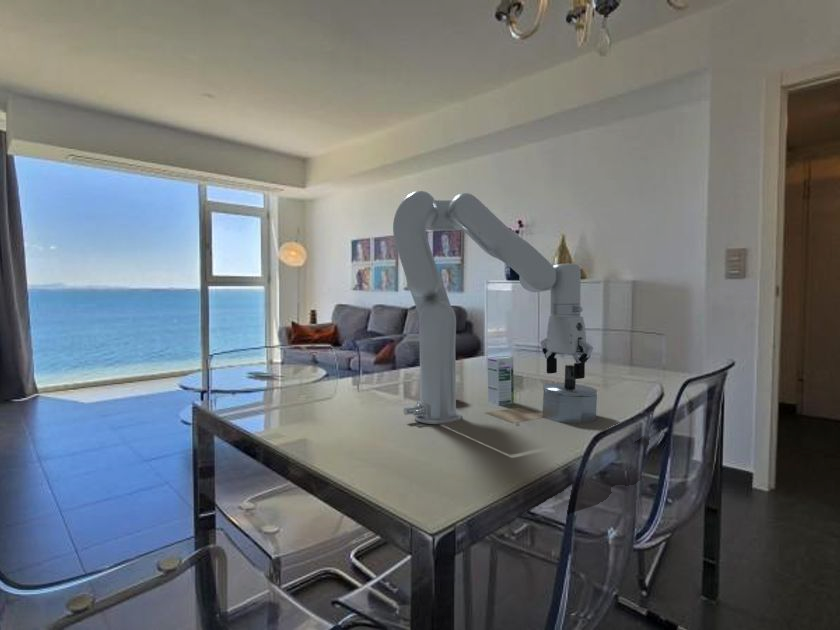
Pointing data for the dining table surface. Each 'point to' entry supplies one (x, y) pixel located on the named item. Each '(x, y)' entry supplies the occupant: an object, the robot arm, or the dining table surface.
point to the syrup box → (500, 380)
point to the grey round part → (569, 400)
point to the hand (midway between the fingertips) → (565, 375)
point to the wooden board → (515, 415)
